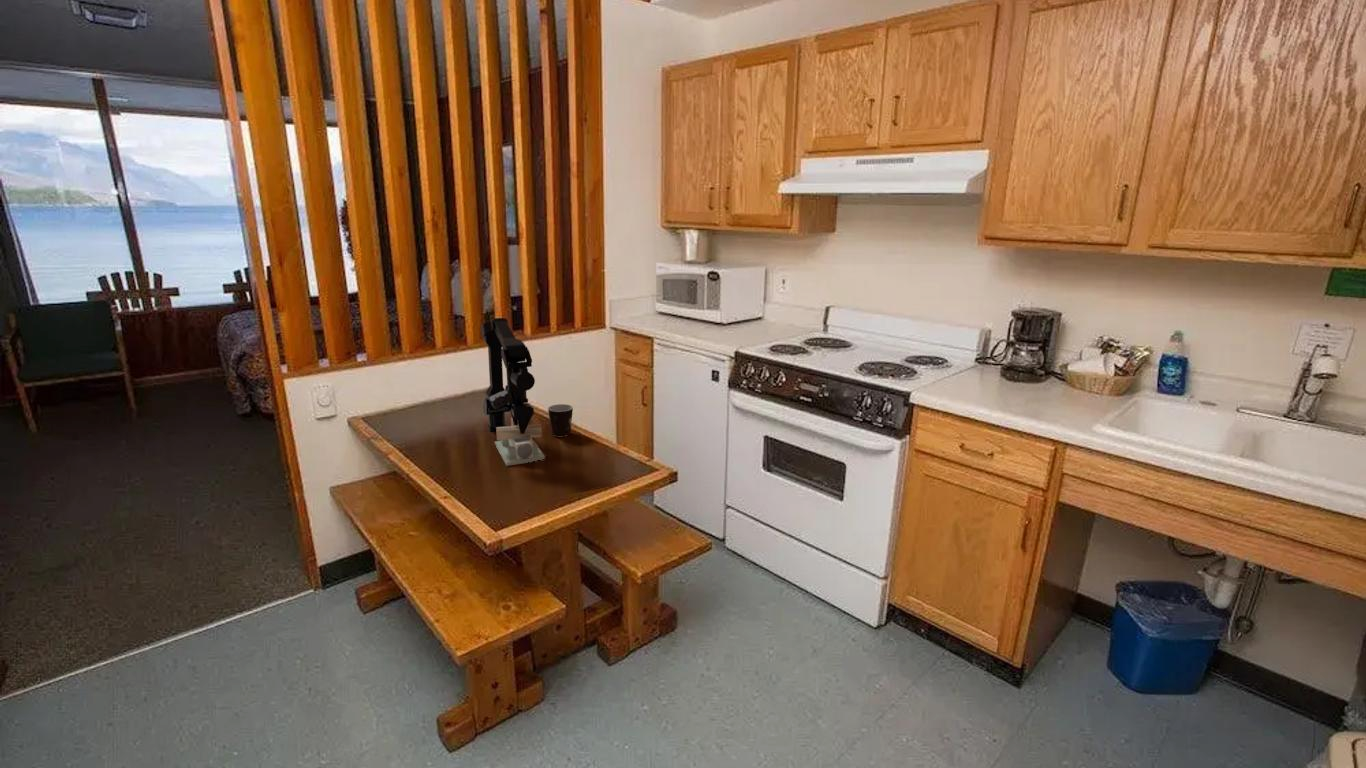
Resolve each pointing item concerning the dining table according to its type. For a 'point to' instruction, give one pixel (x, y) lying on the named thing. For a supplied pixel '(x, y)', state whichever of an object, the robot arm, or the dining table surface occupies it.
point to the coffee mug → (560, 419)
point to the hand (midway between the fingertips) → (519, 429)
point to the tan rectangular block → (518, 432)
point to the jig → (519, 450)
